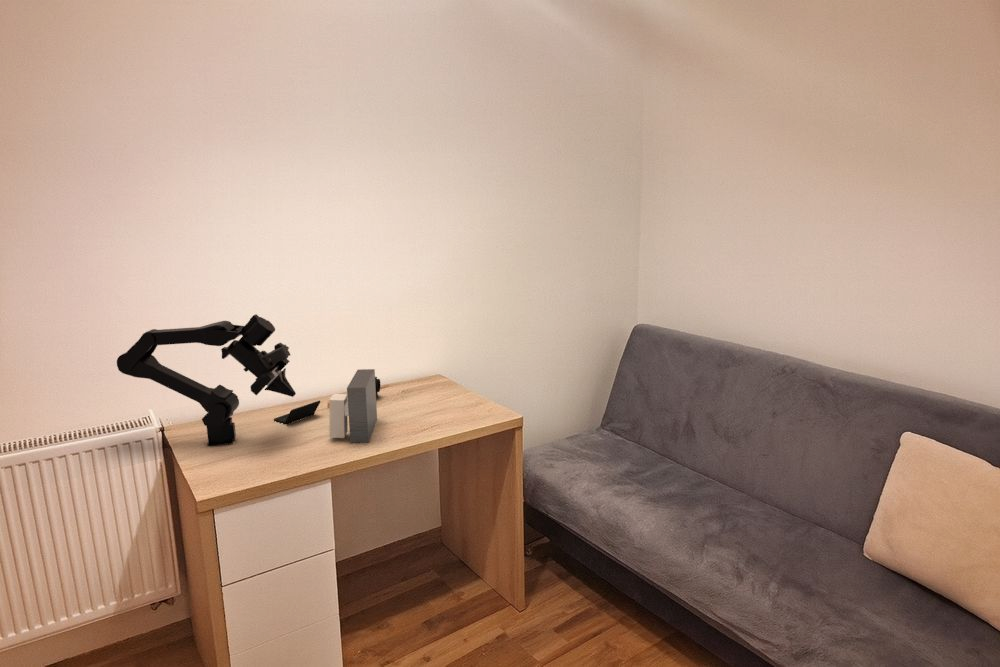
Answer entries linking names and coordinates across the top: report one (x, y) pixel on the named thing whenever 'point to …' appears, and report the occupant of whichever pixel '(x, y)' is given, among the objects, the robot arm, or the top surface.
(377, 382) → the digital camera
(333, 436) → the block
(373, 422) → the rail board
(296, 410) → the handheld gaming console
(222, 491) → the top surface
